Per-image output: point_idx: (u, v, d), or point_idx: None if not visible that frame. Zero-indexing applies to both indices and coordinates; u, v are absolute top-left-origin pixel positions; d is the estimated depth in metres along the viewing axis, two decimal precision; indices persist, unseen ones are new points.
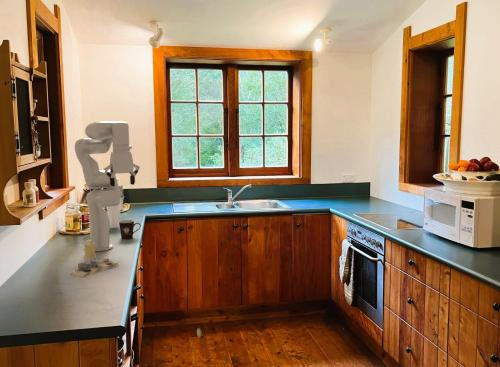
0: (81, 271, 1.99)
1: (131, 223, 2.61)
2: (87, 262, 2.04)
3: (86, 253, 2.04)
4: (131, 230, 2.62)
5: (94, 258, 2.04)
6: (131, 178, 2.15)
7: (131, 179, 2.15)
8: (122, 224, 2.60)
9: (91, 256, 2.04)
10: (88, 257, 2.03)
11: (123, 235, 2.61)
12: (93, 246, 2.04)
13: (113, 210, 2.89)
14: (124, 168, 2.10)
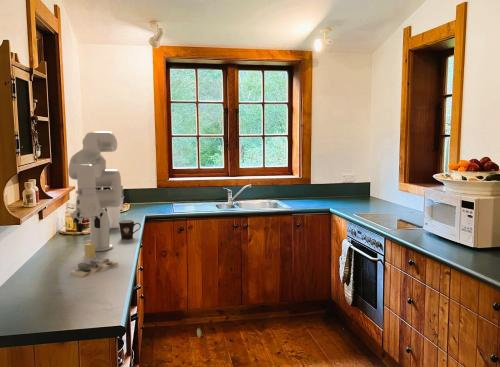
0: (81, 271, 1.99)
1: (131, 223, 2.61)
2: (87, 262, 2.04)
3: (86, 253, 2.04)
4: (131, 230, 2.62)
5: (94, 258, 2.04)
6: None
7: None
8: (122, 224, 2.60)
9: (91, 256, 2.04)
10: (88, 257, 2.03)
11: (123, 235, 2.61)
12: (93, 246, 2.04)
13: (113, 210, 2.89)
14: None
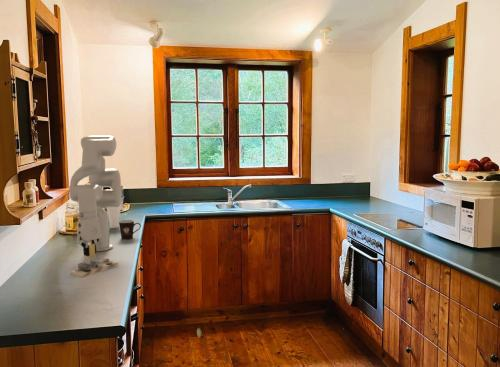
0: (81, 271, 1.99)
1: (131, 223, 2.61)
2: (87, 262, 2.04)
3: None
4: (131, 230, 2.62)
5: (94, 258, 2.04)
6: None
7: None
8: (122, 224, 2.60)
9: (91, 256, 2.04)
10: (88, 257, 2.03)
11: (123, 235, 2.61)
12: (93, 246, 2.04)
13: (113, 210, 2.89)
14: None
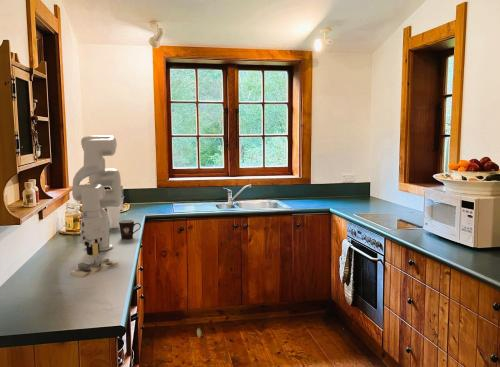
0: (81, 271, 1.99)
1: (131, 223, 2.61)
2: (90, 261, 2.06)
3: None
4: (131, 230, 2.62)
5: (97, 257, 2.06)
6: None
7: None
8: (122, 224, 2.60)
9: (94, 255, 2.05)
10: (91, 256, 2.05)
11: (123, 235, 2.61)
12: (96, 245, 2.06)
13: (113, 210, 2.89)
14: None
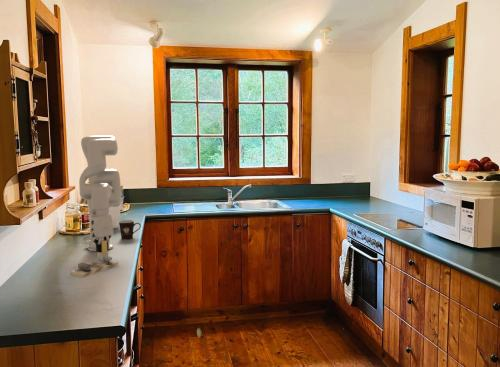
0: (81, 271, 1.99)
1: (131, 223, 2.61)
2: (99, 258, 2.10)
3: None
4: (131, 230, 2.62)
5: (106, 254, 2.10)
6: None
7: None
8: (122, 224, 2.60)
9: (103, 252, 2.10)
10: (100, 253, 2.09)
11: (123, 235, 2.61)
12: (105, 243, 2.10)
13: (113, 210, 2.89)
14: None
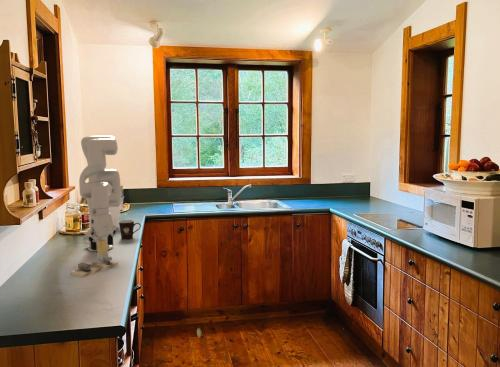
0: (81, 271, 1.99)
1: (131, 223, 2.61)
2: (99, 258, 2.10)
3: (98, 249, 2.10)
4: (131, 230, 2.62)
5: (106, 254, 2.10)
6: None
7: None
8: (122, 224, 2.60)
9: (103, 252, 2.10)
10: (100, 253, 2.09)
11: (123, 235, 2.61)
12: (105, 243, 2.10)
13: (113, 210, 2.89)
14: None
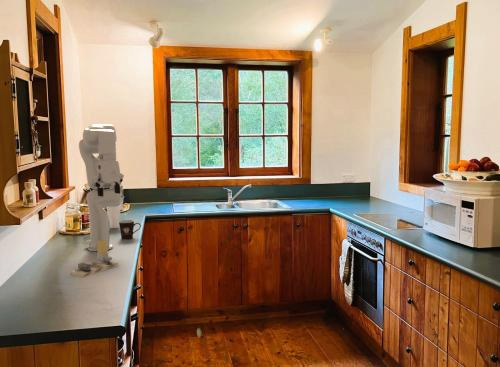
0: (81, 271, 1.99)
1: (131, 223, 2.61)
2: (99, 258, 2.10)
3: (98, 249, 2.10)
4: (131, 230, 2.62)
5: (106, 254, 2.10)
6: None
7: None
8: (122, 224, 2.60)
9: (103, 252, 2.10)
10: (100, 253, 2.09)
11: (123, 235, 2.61)
12: (105, 243, 2.10)
13: (113, 210, 2.89)
14: None
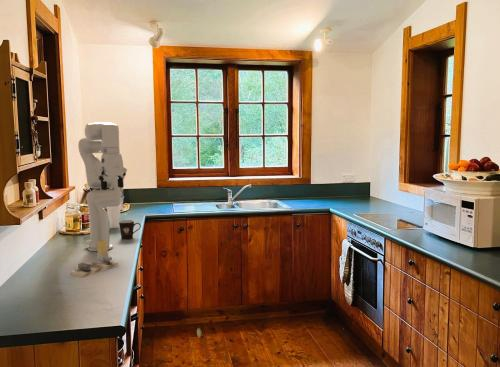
0: (81, 271, 1.99)
1: (131, 223, 2.61)
2: (99, 258, 2.10)
3: (98, 249, 2.10)
4: (131, 230, 2.62)
5: (106, 254, 2.10)
6: None
7: None
8: (122, 224, 2.60)
9: (103, 252, 2.10)
10: (100, 253, 2.09)
11: (123, 235, 2.61)
12: (105, 243, 2.10)
13: (113, 210, 2.89)
14: None
